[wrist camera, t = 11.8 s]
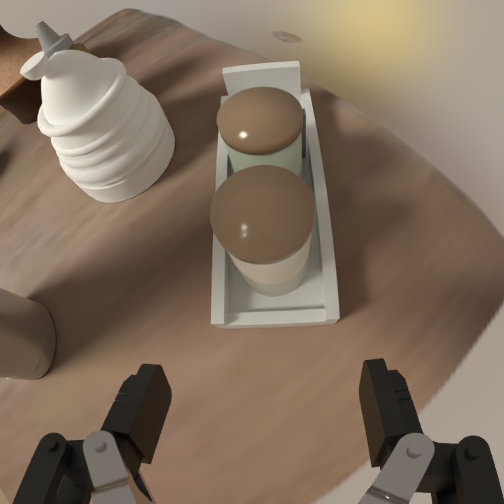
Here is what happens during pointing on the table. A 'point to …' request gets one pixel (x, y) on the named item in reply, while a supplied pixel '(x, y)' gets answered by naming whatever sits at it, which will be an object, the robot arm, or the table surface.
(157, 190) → the table surface
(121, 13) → the table surface
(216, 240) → the jar lane
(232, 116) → the sage jar
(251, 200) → the cream jar
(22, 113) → the pitcher
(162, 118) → the honey pot
